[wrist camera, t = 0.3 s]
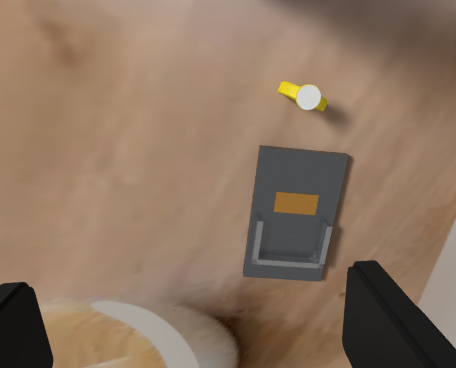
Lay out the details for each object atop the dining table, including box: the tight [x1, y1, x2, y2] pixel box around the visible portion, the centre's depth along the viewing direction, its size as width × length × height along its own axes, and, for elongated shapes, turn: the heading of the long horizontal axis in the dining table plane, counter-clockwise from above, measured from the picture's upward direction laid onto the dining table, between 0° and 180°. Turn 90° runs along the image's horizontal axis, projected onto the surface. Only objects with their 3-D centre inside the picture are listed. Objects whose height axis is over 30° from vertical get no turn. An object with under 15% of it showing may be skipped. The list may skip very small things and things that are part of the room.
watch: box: [278, 81, 328, 111], centre depth 39 cm, size 6×3×6 cm, turn 68°
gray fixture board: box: [243, 145, 349, 282], centre depth 46 cm, size 20×12×3 cm, turn 174°
